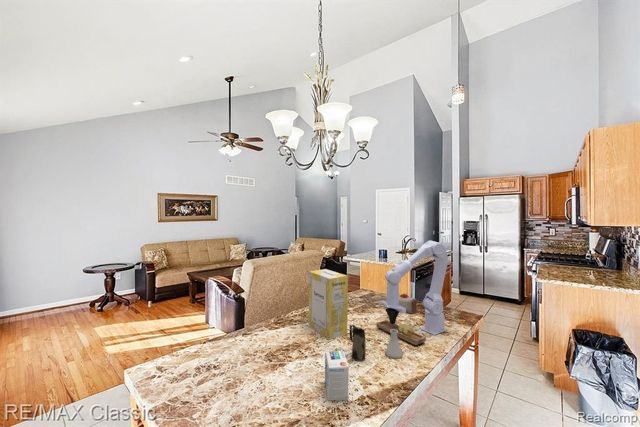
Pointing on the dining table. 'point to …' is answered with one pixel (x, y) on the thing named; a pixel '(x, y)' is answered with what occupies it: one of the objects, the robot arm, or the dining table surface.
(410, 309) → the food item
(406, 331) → the yellow block
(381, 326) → the brown rectangular tray
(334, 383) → the light bulb box
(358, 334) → the mug
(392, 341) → the flask
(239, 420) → the dining table surface
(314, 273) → the pasta box
